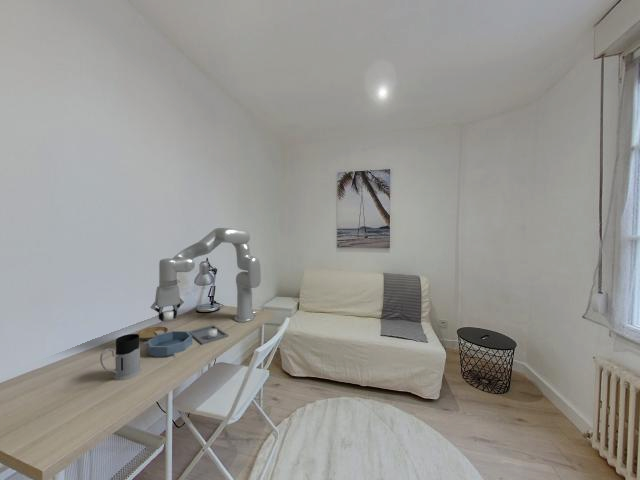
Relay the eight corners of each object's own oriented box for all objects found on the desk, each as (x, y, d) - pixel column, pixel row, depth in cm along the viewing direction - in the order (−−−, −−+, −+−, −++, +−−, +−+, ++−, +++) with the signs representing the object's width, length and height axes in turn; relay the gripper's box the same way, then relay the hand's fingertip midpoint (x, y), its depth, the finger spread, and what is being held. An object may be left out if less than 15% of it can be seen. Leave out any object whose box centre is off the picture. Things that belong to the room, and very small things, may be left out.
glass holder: (146, 369, 104) (146, 334, 103) (109, 390, 90) (109, 350, 90) (130, 366, 106) (130, 332, 106) (92, 386, 93) (92, 346, 92)
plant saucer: (152, 344, 128) (151, 339, 127) (128, 340, 130) (128, 335, 130) (174, 332, 142) (174, 328, 142) (152, 329, 145) (152, 325, 145)
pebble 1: (171, 317, 128) (172, 309, 128) (174, 320, 125) (175, 312, 125) (160, 319, 125) (160, 311, 125) (163, 322, 121) (163, 314, 121)
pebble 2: (214, 334, 137) (214, 327, 137) (218, 337, 134) (218, 330, 134) (205, 337, 134) (205, 330, 134) (209, 340, 130) (209, 333, 130)
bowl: (183, 337, 136) (183, 328, 136) (196, 348, 123) (196, 338, 123) (144, 347, 123) (144, 338, 123) (153, 361, 110) (153, 351, 110)
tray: (213, 327, 149) (213, 324, 149) (228, 337, 136) (228, 334, 136) (188, 334, 139) (188, 331, 139) (202, 346, 126) (202, 342, 126)
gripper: (184, 280, 133) (183, 313, 134) (146, 284, 121) (145, 321, 121) (188, 282, 128) (188, 317, 128) (149, 287, 116) (149, 325, 116)
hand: (167, 318), depth 125 cm, fingers closed on pebble 1, 4 cm apart
